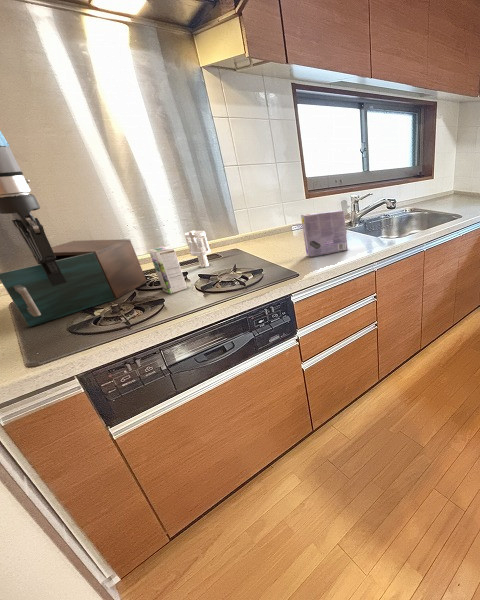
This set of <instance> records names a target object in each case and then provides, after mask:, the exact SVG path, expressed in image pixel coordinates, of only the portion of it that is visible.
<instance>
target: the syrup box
mask: <svg viewBox="0 0 480 600" xmlns="http://www.w3.org/2000/svg"><path fill="white" fill-rule="evenodd" d="M148 252H149V255H150V258H151V261H152V264H153V267H154V270H155V272H156V275H157V278H158V281H159V283H160V286H161V288H162V291H163V292H165V293H167V294H170V295H171V294H174V293H177V292H180V291H183V290H186V289H188V287H187V283H186V280H185V277H184V274H183V271H182V267H181V265H180V262H179V259H178V255H177V253H176V250H175V248H174V247H173V248H172V247H170V246H167V245H166V246H158V247H153V248H150V249H148Z"/></svg>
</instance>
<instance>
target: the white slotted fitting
mask: <svg viewBox="0 0 480 600" xmlns="http://www.w3.org/2000/svg"><path fill="white" fill-rule="evenodd" d="M183 235H184V238H185V241H186V243H187V246H188V249H189V253H190V256H192V257H197V260H198V263H199V267H200V268H207V267H209V266H210V264H209V261H208V257H207V255H209V254H210V253H211V248H210V245H209V242H208V237H207V235H206V231H205V230H190V231H188V232H184V234H183Z"/></svg>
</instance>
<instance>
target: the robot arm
mask: <svg viewBox="0 0 480 600" xmlns="http://www.w3.org/2000/svg"><path fill="white" fill-rule="evenodd" d="M29 183H31V181H30V179H28V178H25V175H24V174H23V172H22V169H21V167H20V166H19V163H18V161H17V159H16V158H15V155H14V153H13V150H12V149H11V147H10V144H9V142H8V141H7V140H6V138H5V136H4V134H3V132H2V131H1V130H0V215H9V214H11V215H12V218H13V219H12V220H11V223H12V225H13V227H15V229H16V230H17V231H18V233H19V234H20V236H21V238H22V239H23V241H24V243H25V244H26V246H27V248H28V249H29V251H30V253H31V254H32V257H33V258H34V259H35V258H36V259H37V260H38V261H36V263H37V265H38V264H41V266H42V268H43V270H44V272H45V273H46V275H47V277H48V279H49V281H50V282H51V284H52V285H53V286H55V285H59V284H63V283H67V282H66V280H65V278H64V276H63V275H62V273H61V271H60V269H59V267H58V265H57V263H56V261H55V259H56V256H55V254H54V252H53V250H52V248H51V247H52V246H51V244H50V241H49V239H48V236H47V235H46V233H45V229H44V226H43V225H42V224H41V222H40V220H39V219H38V218H37V217H34V216H33V214H32V212H33V211H37V210H40V209H41V206H40V204H39V202H38V200H37V198H36V196H35V195H34V194H31V192H32V189H31V186H30V185H29Z"/></svg>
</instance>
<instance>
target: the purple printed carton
mask: <svg viewBox="0 0 480 600" xmlns="http://www.w3.org/2000/svg"><path fill="white" fill-rule="evenodd" d="M345 215H346V214H345V210H333V211H324V212H323V211H322V212H315V213H304V214H300V220H301V225H302V233H303V240H304V246H305V253H306V256H308V257H309V258H313V257H318V256H324V255H330V254H334V253H339V252H344V251H348V250H349V248H348V240H347V227H346V216H345Z"/></svg>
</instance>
